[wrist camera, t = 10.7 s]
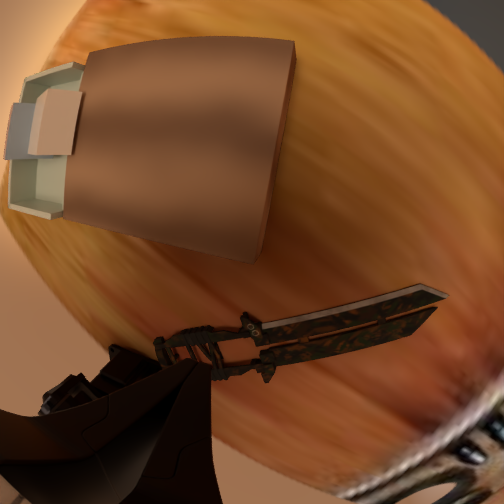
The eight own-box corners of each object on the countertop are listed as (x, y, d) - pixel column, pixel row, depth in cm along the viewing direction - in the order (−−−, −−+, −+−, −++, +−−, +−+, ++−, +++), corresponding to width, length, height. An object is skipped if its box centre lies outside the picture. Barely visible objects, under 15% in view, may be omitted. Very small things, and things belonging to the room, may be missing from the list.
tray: (81, 212, 22) (50, 219, 18) (35, 202, 23) (8, 207, 19) (102, 72, 18) (73, 61, 15) (51, 83, 19) (24, 78, 16)
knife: (445, 274, 18) (452, 281, 17) (440, 343, 19) (446, 352, 18) (149, 318, 24) (142, 325, 23) (172, 375, 25) (166, 383, 24)
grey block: (4, 159, 15) (3, 158, 17) (52, 158, 20) (46, 157, 21) (13, 102, 14) (11, 107, 16) (61, 105, 18) (54, 108, 20)
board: (261, 252, 20) (253, 264, 17) (86, 213, 22) (63, 218, 19) (296, 59, 16) (294, 41, 13) (110, 61, 18) (89, 52, 15)
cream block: (71, 154, 17) (36, 155, 15) (56, 153, 20) (27, 153, 17) (82, 91, 16) (48, 88, 13) (65, 100, 18) (37, 98, 16)
